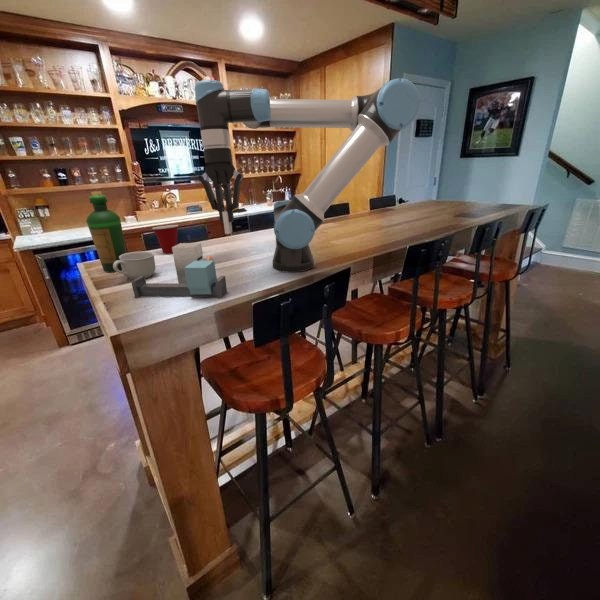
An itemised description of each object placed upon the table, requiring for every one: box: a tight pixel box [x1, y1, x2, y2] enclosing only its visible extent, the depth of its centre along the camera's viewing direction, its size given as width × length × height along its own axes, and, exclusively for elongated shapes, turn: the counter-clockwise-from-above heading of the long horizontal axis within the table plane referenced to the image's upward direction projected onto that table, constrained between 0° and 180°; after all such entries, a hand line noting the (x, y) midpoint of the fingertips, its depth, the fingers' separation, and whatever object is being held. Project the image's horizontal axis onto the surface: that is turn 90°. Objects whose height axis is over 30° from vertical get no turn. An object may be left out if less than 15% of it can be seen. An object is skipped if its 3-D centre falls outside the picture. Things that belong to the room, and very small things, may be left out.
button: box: [197, 256, 214, 261], centre depth 102 cm, size 6×4×4 cm
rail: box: [130, 275, 228, 299], centre depth 93 cm, size 26×5×5 cm, turn 85°
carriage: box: [184, 260, 218, 294], centre depth 91 cm, size 6×7×8 cm
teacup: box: [113, 250, 156, 280], centre depth 109 cm, size 14×11×8 cm
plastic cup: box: [151, 224, 179, 255], centre depth 141 cm, size 11×11×12 cm
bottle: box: [85, 190, 127, 273], centre depth 115 cm, size 11×11×28 cm
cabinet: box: [172, 242, 204, 283], centre depth 103 cm, size 7×6×12 cm
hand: (228, 232), depth 98 cm, fingers closed
